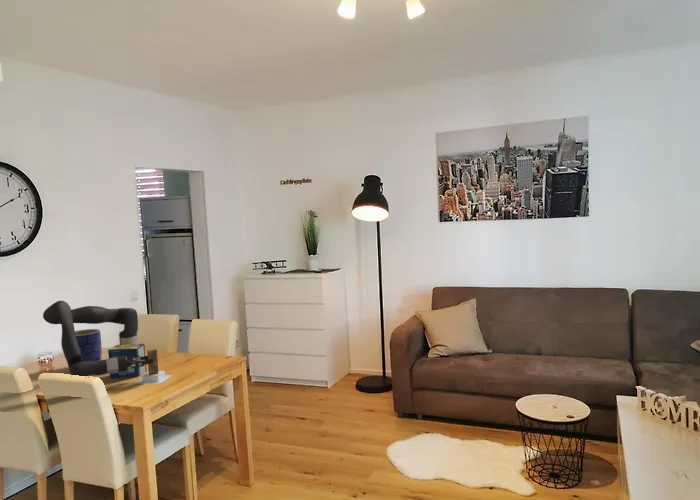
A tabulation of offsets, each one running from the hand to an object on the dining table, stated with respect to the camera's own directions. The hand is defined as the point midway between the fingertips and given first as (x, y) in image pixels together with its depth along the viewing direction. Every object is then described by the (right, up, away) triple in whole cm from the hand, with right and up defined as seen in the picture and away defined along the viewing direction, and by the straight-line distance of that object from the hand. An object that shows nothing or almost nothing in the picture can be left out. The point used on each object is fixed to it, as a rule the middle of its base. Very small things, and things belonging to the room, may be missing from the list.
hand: (151, 359), depth 264 cm
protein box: (-17, -11, +13) cm, 24 cm away
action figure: (-34, -13, +1) cm, 36 cm away
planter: (-50, -12, +33) cm, 61 cm away
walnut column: (+1, -7, +1) cm, 7 cm away
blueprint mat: (+1, -11, +1) cm, 11 cm away
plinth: (+1, -10, +1) cm, 10 cm away
